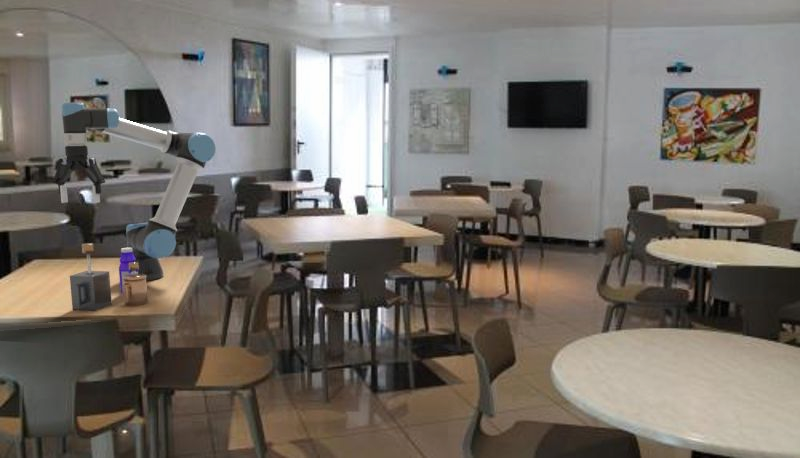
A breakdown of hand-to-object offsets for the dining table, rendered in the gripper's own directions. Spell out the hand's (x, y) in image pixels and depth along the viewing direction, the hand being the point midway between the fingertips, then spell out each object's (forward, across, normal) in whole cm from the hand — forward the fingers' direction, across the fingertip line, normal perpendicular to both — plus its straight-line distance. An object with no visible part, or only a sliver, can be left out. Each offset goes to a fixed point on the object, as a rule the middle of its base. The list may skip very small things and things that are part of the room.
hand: (80, 202), depth 262 cm
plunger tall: (+31, +15, -18) cm, 39 cm away
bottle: (+35, +16, +3) cm, 38 cm away
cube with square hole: (+35, +15, -20) cm, 42 cm away
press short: (+35, +27, -11) cm, 45 cm away
